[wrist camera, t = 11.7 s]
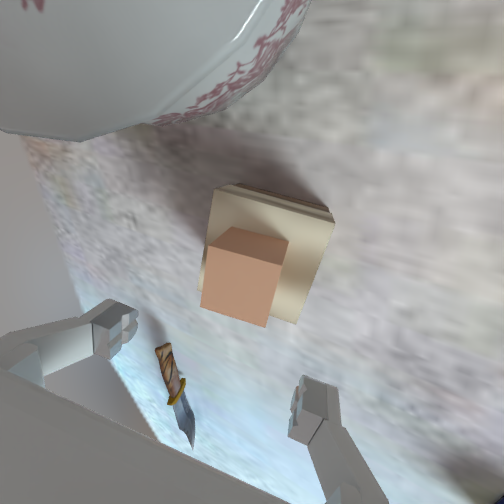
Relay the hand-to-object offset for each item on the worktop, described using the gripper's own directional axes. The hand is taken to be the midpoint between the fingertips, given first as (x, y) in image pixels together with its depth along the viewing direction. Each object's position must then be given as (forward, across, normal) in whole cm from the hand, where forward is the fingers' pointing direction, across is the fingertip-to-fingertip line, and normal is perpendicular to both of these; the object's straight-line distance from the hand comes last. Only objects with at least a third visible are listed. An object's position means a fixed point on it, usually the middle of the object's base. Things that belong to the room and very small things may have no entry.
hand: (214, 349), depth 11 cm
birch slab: (+15, 0, 0) cm, 15 cm away
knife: (+18, +7, +31) cm, 36 cm away
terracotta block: (+11, +1, 0) cm, 11 cm away
